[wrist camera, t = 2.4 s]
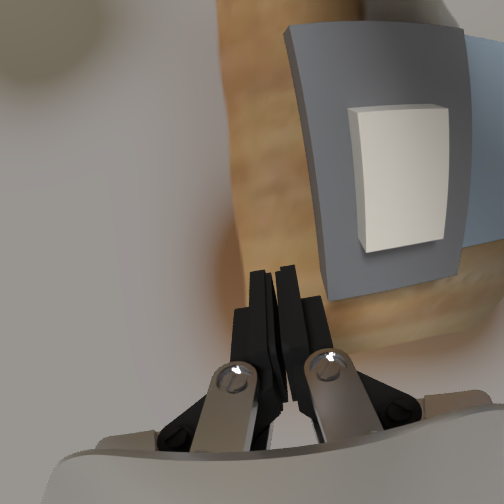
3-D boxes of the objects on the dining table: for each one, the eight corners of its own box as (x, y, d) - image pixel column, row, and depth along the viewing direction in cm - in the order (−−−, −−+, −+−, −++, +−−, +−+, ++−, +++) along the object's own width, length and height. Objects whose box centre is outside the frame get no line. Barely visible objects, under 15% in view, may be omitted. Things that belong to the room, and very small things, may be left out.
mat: (434, 31, 16) (437, 31, 16) (522, 48, 15) (525, 48, 14) (437, 250, 26) (439, 252, 26) (513, 234, 25) (515, 235, 25)
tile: (347, 108, 17) (357, 112, 15) (432, 103, 16) (448, 108, 14) (357, 237, 21) (366, 252, 20) (431, 224, 21) (443, 238, 19)
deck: (283, 33, 17) (289, 25, 14) (434, 31, 16) (463, 28, 13) (320, 272, 28) (328, 301, 24) (437, 250, 26) (456, 274, 23)
